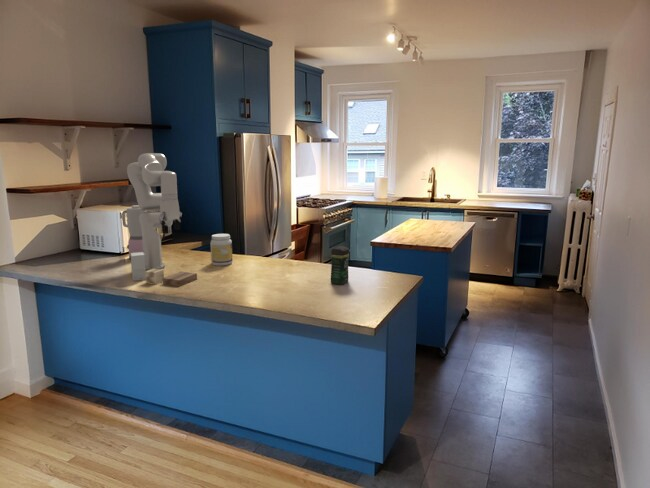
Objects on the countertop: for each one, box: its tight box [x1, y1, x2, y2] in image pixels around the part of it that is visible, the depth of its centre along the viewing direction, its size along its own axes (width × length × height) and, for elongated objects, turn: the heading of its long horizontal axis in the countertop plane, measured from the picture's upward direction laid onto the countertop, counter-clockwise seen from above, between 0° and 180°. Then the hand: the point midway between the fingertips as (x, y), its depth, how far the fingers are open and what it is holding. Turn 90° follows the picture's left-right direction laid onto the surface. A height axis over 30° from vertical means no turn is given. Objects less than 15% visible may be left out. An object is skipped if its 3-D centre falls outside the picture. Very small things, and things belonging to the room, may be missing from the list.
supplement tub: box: [209, 233, 233, 267], centre depth 277 cm, size 12×12×17 cm
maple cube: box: [145, 268, 165, 285], centre depth 239 cm, size 6×6×6 cm
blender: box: [121, 204, 148, 260], centre depth 288 cm, size 16×12×32 cm
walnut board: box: [162, 271, 198, 287], centre depth 240 cm, size 10×14×3 cm
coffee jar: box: [330, 245, 350, 285], centre depth 239 cm, size 10×8×19 cm
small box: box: [130, 252, 147, 282], centre depth 245 cm, size 8×6×13 cm
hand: (171, 231), depth 238 cm, fingers open, 9 cm apart
